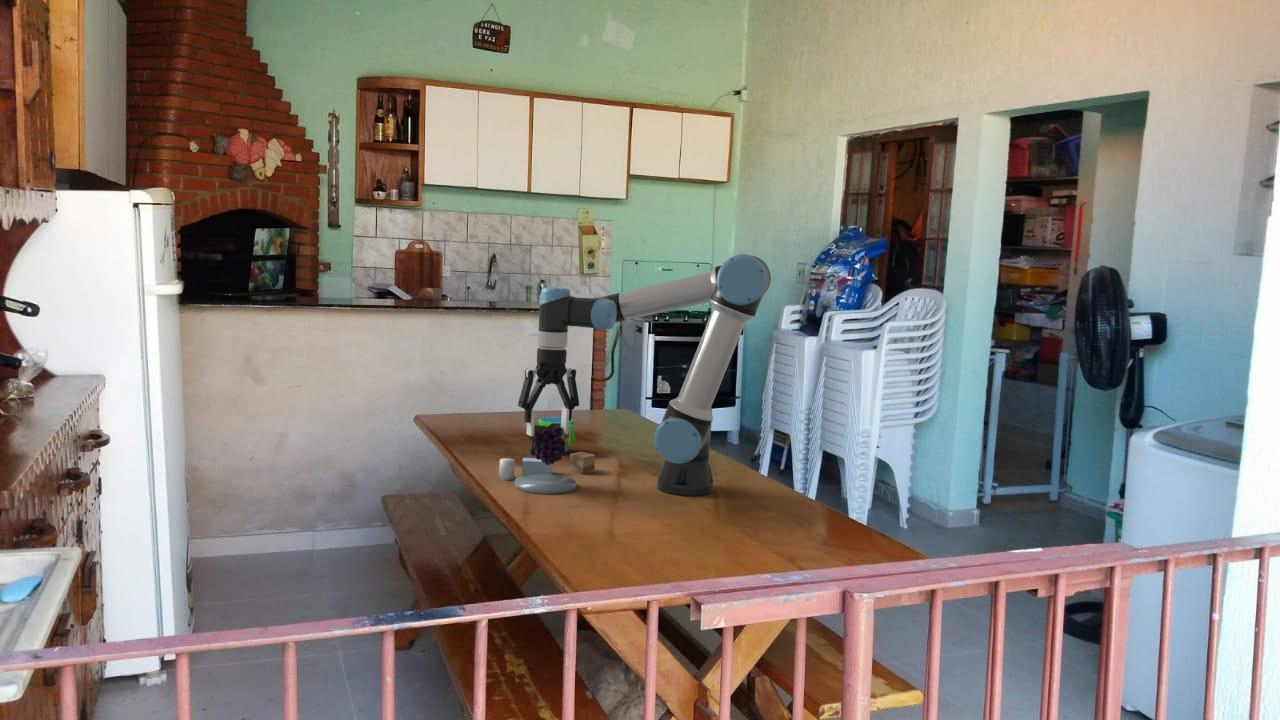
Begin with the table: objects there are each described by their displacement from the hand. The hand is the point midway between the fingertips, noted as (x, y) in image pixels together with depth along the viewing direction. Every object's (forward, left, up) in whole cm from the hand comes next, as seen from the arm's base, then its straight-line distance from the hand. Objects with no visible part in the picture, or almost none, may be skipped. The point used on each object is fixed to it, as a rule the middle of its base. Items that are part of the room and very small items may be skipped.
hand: (547, 434), depth 242 cm
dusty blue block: (+13, -4, -14) cm, 19 cm away
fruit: (0, 0, -7) cm, 7 cm away
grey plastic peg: (+11, +6, -14) cm, 19 cm away
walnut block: (+11, -17, -14) cm, 25 cm away
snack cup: (+35, -21, -14) cm, 43 cm away
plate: (0, 0, -14) cm, 14 cm away
